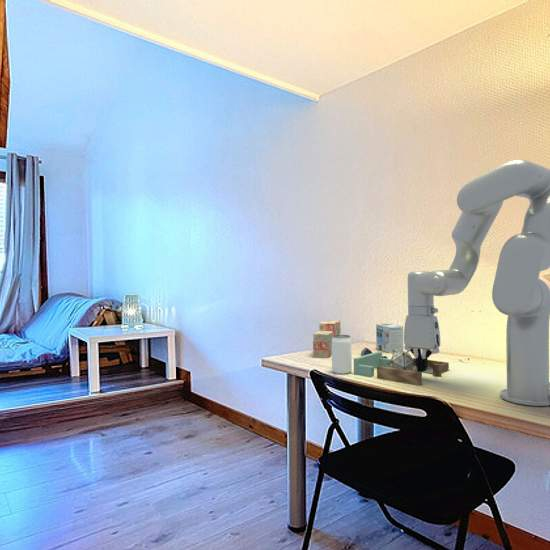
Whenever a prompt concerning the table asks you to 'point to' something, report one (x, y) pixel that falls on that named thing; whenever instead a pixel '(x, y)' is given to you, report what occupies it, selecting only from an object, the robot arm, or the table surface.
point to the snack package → (368, 352)
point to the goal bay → (369, 363)
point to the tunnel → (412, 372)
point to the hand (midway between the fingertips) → (421, 370)
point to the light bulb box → (389, 337)
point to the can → (341, 354)
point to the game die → (402, 361)
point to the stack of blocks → (325, 338)
